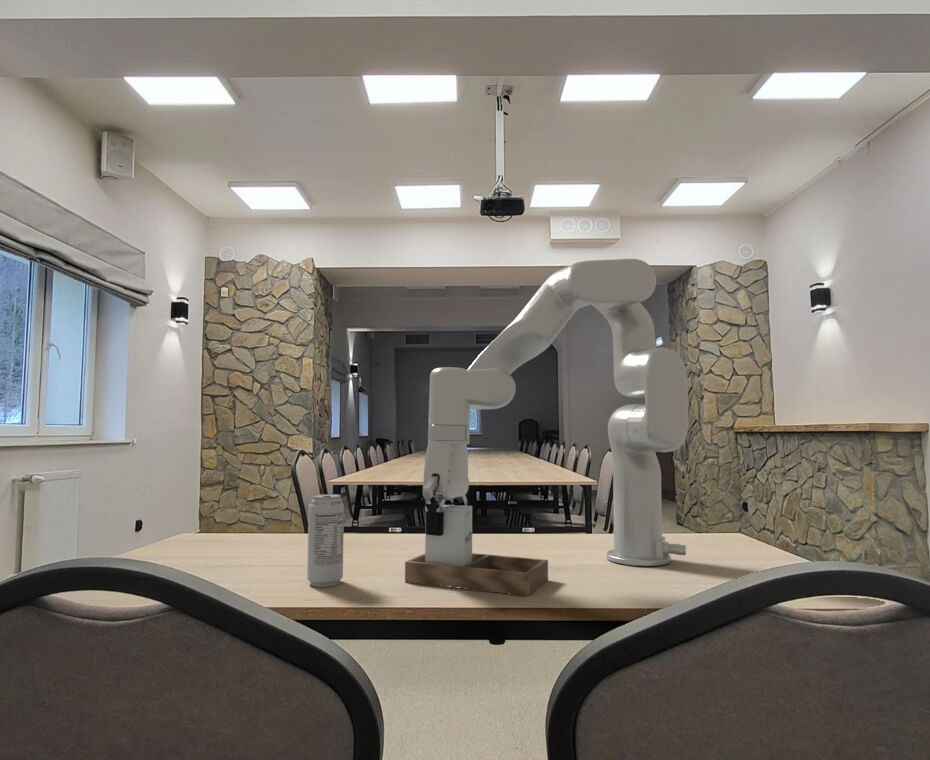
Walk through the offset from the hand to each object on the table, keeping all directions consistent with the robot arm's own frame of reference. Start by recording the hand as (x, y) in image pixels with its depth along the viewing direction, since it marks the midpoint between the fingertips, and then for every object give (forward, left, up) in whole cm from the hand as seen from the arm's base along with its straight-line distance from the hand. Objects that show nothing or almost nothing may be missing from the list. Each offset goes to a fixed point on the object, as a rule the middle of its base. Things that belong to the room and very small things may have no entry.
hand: (446, 531), depth 112 cm
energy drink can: (+18, +12, -9) cm, 23 cm away
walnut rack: (-6, 0, -8) cm, 10 cm away
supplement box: (0, 0, -9) cm, 9 cm away
